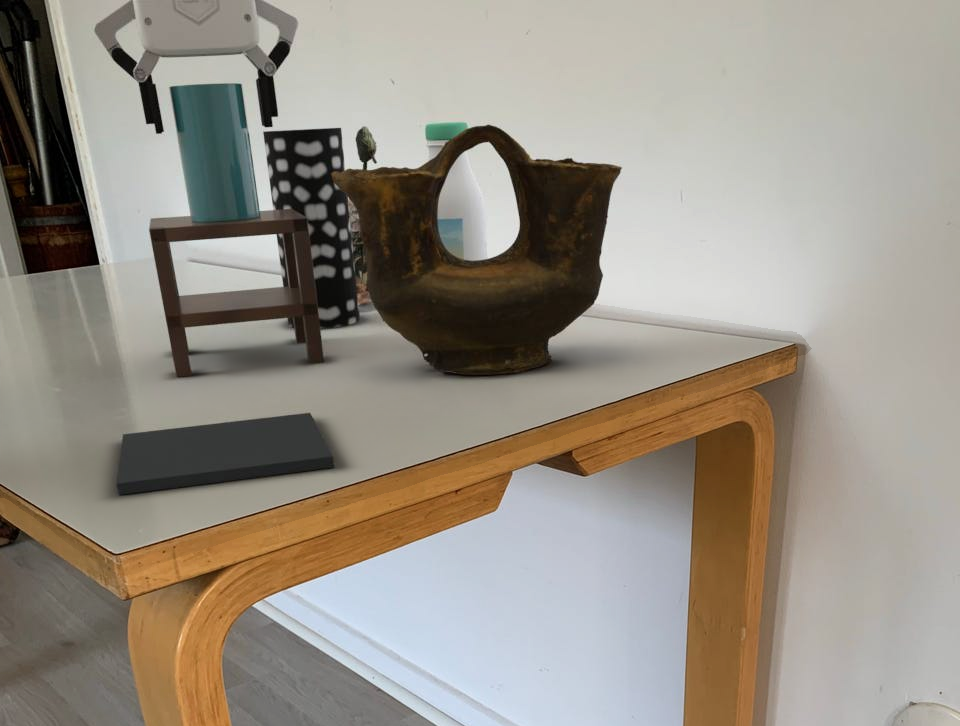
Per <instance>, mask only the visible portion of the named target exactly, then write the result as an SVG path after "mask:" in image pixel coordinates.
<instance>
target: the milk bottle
mask: <svg viewBox="0 0 960 726" xmlns="http://www.w3.org/2000/svg"><path fill="white" fill-rule="evenodd" d="M424 127H425V128H424V133H425V140H426V147H427V148H428V149H427V150H428V160H427V162H428V161H430V160H431V159H433V158H435V157H436V156H437V155H438V153H439V152H440V151H441V150H442V148H443V147H444V146H445V143H446V142H448V141H449V140H451V139H452V138H454V137H455V136H457V135H458V134H459V133H461V132H462V131H464V130H465V129H468V128H469V127H468V123H467V122H465V121H452V122H434V123H427V124H425V126H424ZM483 197H484V196H483V193H482V190H481V188H480V185H479V183H478V180H477V179H476V176H475V174H474V172H473V170H472V166H471V163H470V159H469V156H468V150H467V151H465V152H463V153H462V154H461V155H460V156H459V157H458V158H457V160H456V161H455V163H454V164H453V166H452V167H451V169H450V171H449V173H448V175H447V178H446V181H445V183H444V185H443V188H442V190H441V193H440V196H439V201H438V228H439V234H440V237H441V240H442V242H443V244H444V246H445V248H446V249H447V250H448V251H449V252H450V253H451V254H452V255H454V256H456V257H458V258H460V259H464V260H471V261H476V260H484V259H488V241H487V239H488V238H487V224H486V223H487V221H486V220H487V219H486V210H485V203H484V201H485V200H484V198H483Z"/></svg>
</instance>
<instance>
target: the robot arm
mask: <svg viewBox="0 0 960 726" xmlns="http://www.w3.org/2000/svg"><path fill="white" fill-rule="evenodd" d="M258 18H259V19H262V20H263V21H265V22H267V23H268V24H271V25H272V26H275V27H276V28H277V29H278V37H277V40H276V44H275V46H274V47H273V48H272V49H271V50H270V52H269V54H268V55H267V53H266V52H264V49H262V48H261V47H260V46H259V42H260V25H259V19H258ZM133 22H135V23H136V28H137V33H138V37H139V41H140V43H141V46H142V47H143V49H144V51H143V52H142V54H141V56H140V58H139V60H138V62H137V60H135V59H134V58H133V57H132V56H131V55H129V53H127V52H126V51H125V50H124V49H123V47H122V46H121V44H120V42H119V41H118V39H117V34H118V33H119V32H120V31H121V30H123V29H124V28H126V27H127V26H128V25H130V24H131V23H133ZM298 27H299V22H298V19H297V18H296V17H294V16H293V15H291V14H290V13H287V12H286V11H284V10H281V9H280V8H278V7H276V6H274V5H273V4H271V3H269V2H267V1H265V0H129V1H127V2H126V3H124V4H123V5H122V6H120V7H119V8H117V9H115V11H113V12H112V13H110V14H109V15H107V16H106V17H104V18H103V19H102V20H100V21H99V22H97V23H96V24H94V27H93V30H94V34H95V36H96V37H97V39H98V40H99V42H101V44H102V45H103V47H104V48H105V50H106V52H107V53H108V54H109V56H110V57H111V59H112V60H113V62H114V63H115V64H117V66H119V67H120V68H121V69H122V70H123V71H124V72H126V73H127V75H129V76H130V77H131V78H132V79H134V80H135V82H137V83H138V88H139V92H140V93H139V94H140V99H141V104H142V110H143V114H144V119H145V124H146V125H154V129H155V134H156V135H162V134H163V133H164V132H165V128H164V124H163V119H162V118H163V117H162V112H161V107H160V102H159V97H158V91H157V85H156V83H154V82H153V76H152V73H153V71H154V69H155V67H157V64H158V63H159V61H160V59H161V58H168V59H169V58H195V57H196V58H197V57H217V56H218V57H219V56H234V55H235V56H236V55H243V56H244V57H245V58H246V59H247V60H248V61H249V62H250V64H252V66H253V67H254V68H255V69H256V70H257V78H256V79H255V84H256V92H257V100H258V106H259V113H260V120H261V126H262V127H264V128H273V126H274V125H273V118H278V117H279V109H278V103H277V95H276V94H277V93H276V86H275V80H274V79H275V78H274V75H276V73H277V72H278V70H279V68H281V66H282V64H283V63H284V62H285V60H286V59H287V57H288V56H289V55H290V53H291V48H292V45H293V42H294V40H295V36H296V34H297V30H298Z"/></svg>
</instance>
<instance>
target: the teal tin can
mask: <svg viewBox="0 0 960 726" xmlns="http://www.w3.org/2000/svg"><path fill="white" fill-rule="evenodd" d="M168 89H169V96H170V102H171V107H172V113H173V119H174V125H175V131H176V137H177V138H176V139H177V144H178V149H179V150H178V151H179V155H180V161H181V167H182V172H183V173H182V174H183V180H184V185H185V191H186V196H187V203H188V208H189V214H190V215H189V216H191V221H193V222H224V221H237V220H246V219H253V218H258V217H260V211H261V210H260V204H259V203H260V202H259V196H258V188H257V182H256V175H255V168H254V160H253V153H252V146H251V145H252V144H251V139H250V132H249V131H250V129H249V124H248V123H249V122H248V116H247V109H246V103H245V102H246V101H245V94H244V87H243V83H240V82H239V83H236V82H234V83H231V82H230V83H229V82H227V83H226V82H225V83H221V82H220V83H199V84H198V83H197V84H181V85H171V86H168Z"/></svg>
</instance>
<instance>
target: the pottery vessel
mask: <svg viewBox="0 0 960 726" xmlns="http://www.w3.org/2000/svg"><path fill="white" fill-rule="evenodd" d="M484 143H489V144H490V145H491V146H492V147H493V149H494V150H495V152H496V153H497V154H498V155H499V157H500V158H501V159H502V160H503V162H504V164H505V166H506V168H507V171H508V173H509V177H510V180H511V184H512V188H513V192H514V196H515V201H516V207H517V212H518V220H519V228H518V229H519V230H518V233H517V236H516V238H515V240H514V242H512V244H511V245H510V246H509V247H508V248H507V249H506V250H505V251H503V252H501V253H500V254H498V255H495V256H492V257H489V258H487V259H484V260H476V261H471V260H464V259H460V258H458V257H456V256H454V255H452V254H451V253H450V252H449V251H448V250H447V249H446V248H445V246H444V244H443V242H442V240H441V237H440V234H439V228H438V201H439V196H440V193H441V190H442V188H443V185H444V183H445V181H446V178H447V175H448V173H449V171H450V169H451V167H452V166H453V164H454V163H455V161H456V160H457V158H458V157H459V156H460V155H461V154H462V153H463V152H465V151H467V152H468V151H469V150H472V149H473V148H475V147H477V146H478V145H480V144H484ZM622 169H623V167H622V166H618V165H615V164H610V163H596V162H578V161H576V160H574V159H573V158H572V157H566V158H563V159H557V160H553V159H548V158H535V159H533V158H531V156H530V154H529V153H528V152H527V151H526V149H525V148H524V147H523V146H522V145H521V144H520V143H519V142H518V141H516V139H514V138H513V137H512V136H511V135H510V134H509V133H507V132H506V131H505V130H503V129H502V128H500V127H498V126H495V125H492V124H486V125H475V126H471V127H468V129H465V130H464V131H462V132H461V133H459V134H458V135H457V136H455V137H454V138H452V139H451V140H449V141H448V142H446V143H445V146H444V147H443V148H442V150H441V151H440V152H439V153H438V155H437V156H436V157H435V158H433V159H431V160H430V161H428V160H427V161H426V162H425V163H424V164H422V165H421V166H419V167H417V168H408V167H407V166H404V167H395V166H394V167H393V166H391V167H388V166H381V167H377V168H375V169H367V170H363V168H355V169H354V168H347V169H345V171H343V172H341V173H340V172H332V173H331V175H332V178H333V181H334V183H335V184H336V185H337V186H338V188H339V189H340V190H341V191H342V192H344V193H345V194H346V195H347V197H348V199H350V201H351V202H352V203H353V204H354V206H355V208H356V210H357V212H358V216H359V223H360V236H361V238H362V242H363V244H364V246H365V249H366V256H367V280H366V287H367V289H368V292H369V294H370V298H371V301H370V302H371V303H372V305H373V307H374V309H375V310H376V311H377V313H378V315H379V316H380V318H381V319H382V321H383V322H384V323H385V324H386V325H387V326H388V327H389V328H390V329H391V330H393V331H394V332H396V333H398V334H399V335H401V336H402V338H403V339H405V340H406V341H408V342H410V343H412V344H413V345H415V346H416V347H417V348H418V349H419V351H420V353H421V354H422V357H423V360H424V361H425V362H426V363H428V364H429V366H432V368H434V370H437V371H440V372H445V373H448V372H449V373H454V374H456V375H465V376H482V375H483V376H486V375H502V374H503V375H504V374H510V373H511V374H512V373H518V372H524V371H528V370H531V369H534V368H537V367H538V368H539V367H542V366H544V365H545V364H550V363H551V362H552V360H553V359H552V355H551V353H550V351H549V341H550V339H552V338H553V337H556V336H557V335H559V334H561V332H563V331H565V330H566V329H567V327H569V326H570V325H571V324H572V323H574V322H575V321H576V320H577V319H578V318H579V317H581V316H582V315H583V314H584V313H585V312H587V311H588V310H589V309H590V308H592V307H593V306H594V304H595V302H596V300H597V299H598V298H599V294H600V289H601V285H602V281H603V278H604V274H603V272H602V268H601V263H600V260H601V255H602V251H603V250H602V249H603V243H604V237H605V232H606V227H607V224H608V217H609V216H608V214H609V207H610V201H611V195H612V192H613V187H614V184H615V182H616V180H618V177H619V176H620V174H621V173H622Z"/></svg>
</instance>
